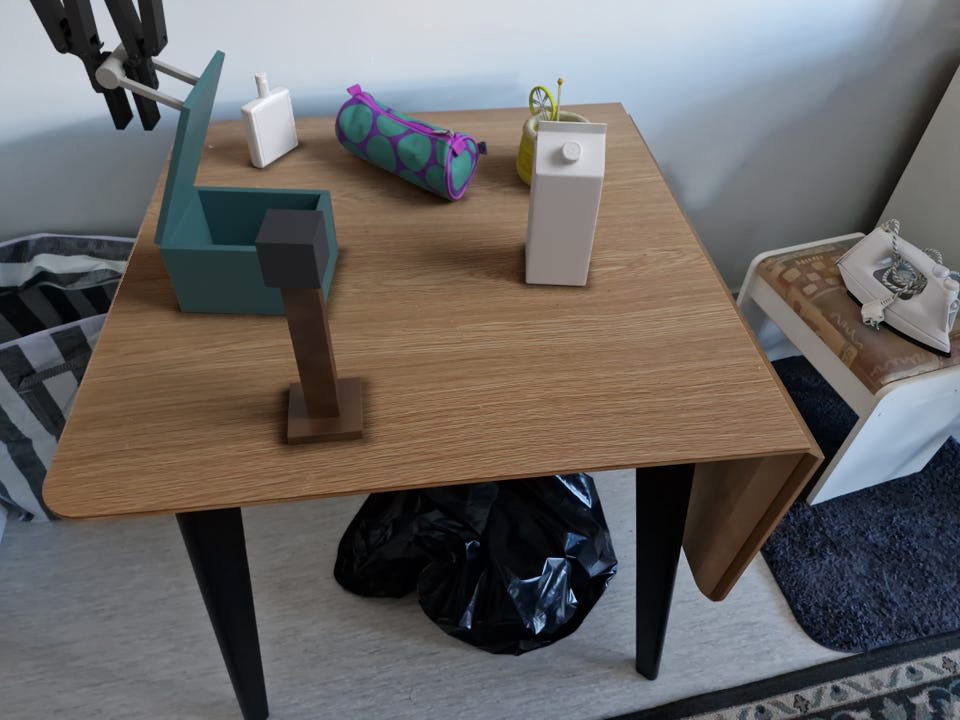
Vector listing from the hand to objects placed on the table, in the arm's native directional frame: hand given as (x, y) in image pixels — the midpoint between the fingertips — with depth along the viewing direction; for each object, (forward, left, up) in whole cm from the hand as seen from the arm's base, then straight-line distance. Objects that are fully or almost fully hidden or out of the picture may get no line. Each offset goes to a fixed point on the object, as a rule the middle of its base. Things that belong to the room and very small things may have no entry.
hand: (138, 123), depth 71 cm
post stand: (+1, -28, -20) cm, 34 cm away
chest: (+6, -6, -20) cm, 21 cm away
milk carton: (+35, -26, -20) cm, 48 cm away
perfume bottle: (+22, +18, -20) cm, 35 cm away
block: (+1, -28, -2) cm, 28 cm away
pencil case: (+34, +2, -20) cm, 39 cm away
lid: (+3, -3, -3) cm, 5 cm away
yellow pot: (+50, -11, -20) cm, 55 cm away
